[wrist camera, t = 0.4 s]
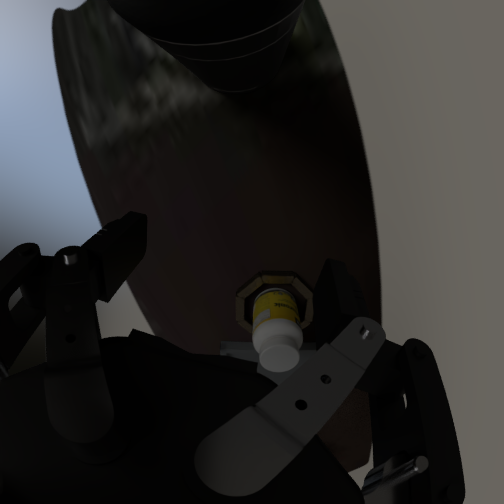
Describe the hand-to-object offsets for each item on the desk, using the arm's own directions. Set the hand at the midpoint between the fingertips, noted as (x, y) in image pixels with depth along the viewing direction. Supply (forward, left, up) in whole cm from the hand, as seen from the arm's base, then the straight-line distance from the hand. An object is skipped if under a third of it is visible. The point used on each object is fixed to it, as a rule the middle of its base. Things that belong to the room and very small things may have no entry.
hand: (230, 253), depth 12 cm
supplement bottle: (+15, +4, -19) cm, 24 cm away
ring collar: (+15, +4, -18) cm, 24 cm away
